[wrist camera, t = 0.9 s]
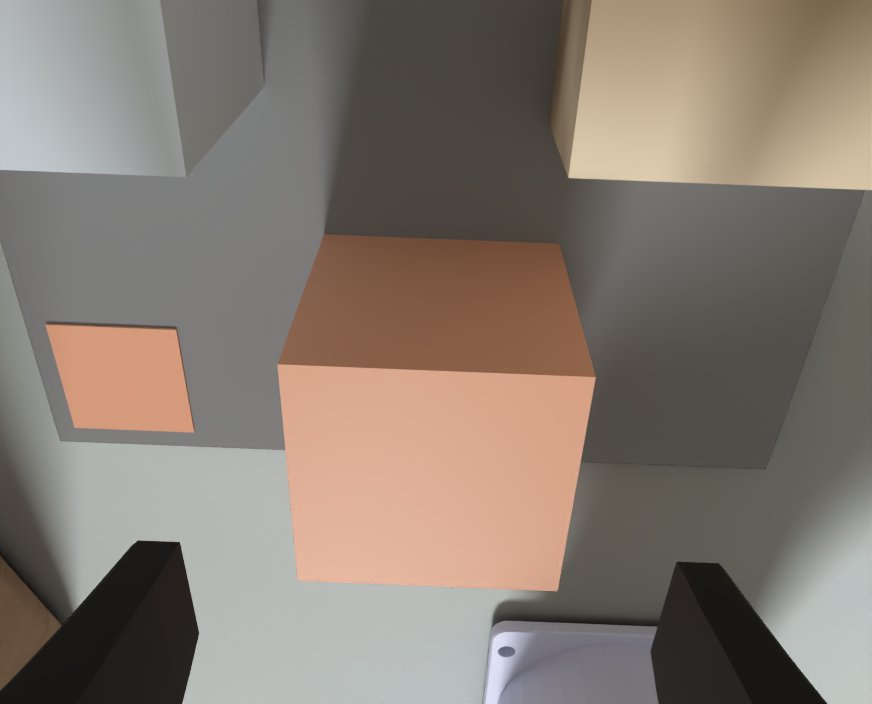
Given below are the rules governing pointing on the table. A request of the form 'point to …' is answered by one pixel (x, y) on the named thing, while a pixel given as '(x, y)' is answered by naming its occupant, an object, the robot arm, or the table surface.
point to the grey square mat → (413, 218)
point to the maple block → (716, 92)
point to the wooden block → (20, 624)
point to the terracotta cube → (434, 413)
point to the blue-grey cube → (123, 82)
